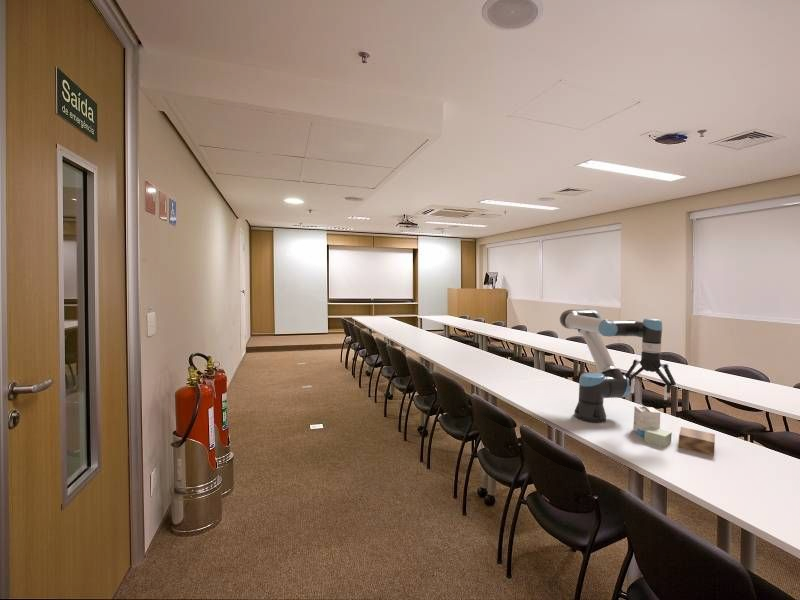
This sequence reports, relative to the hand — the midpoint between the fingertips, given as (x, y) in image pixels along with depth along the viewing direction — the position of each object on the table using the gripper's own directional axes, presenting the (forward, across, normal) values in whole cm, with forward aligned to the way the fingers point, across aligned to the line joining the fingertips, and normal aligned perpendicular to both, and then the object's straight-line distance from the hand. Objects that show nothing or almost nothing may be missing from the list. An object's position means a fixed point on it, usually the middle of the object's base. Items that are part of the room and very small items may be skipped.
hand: (648, 396), depth 182 cm
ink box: (+18, 0, 0) cm, 18 cm away
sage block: (+18, +6, -8) cm, 21 cm away
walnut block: (+18, +19, -1) cm, 26 cm away
